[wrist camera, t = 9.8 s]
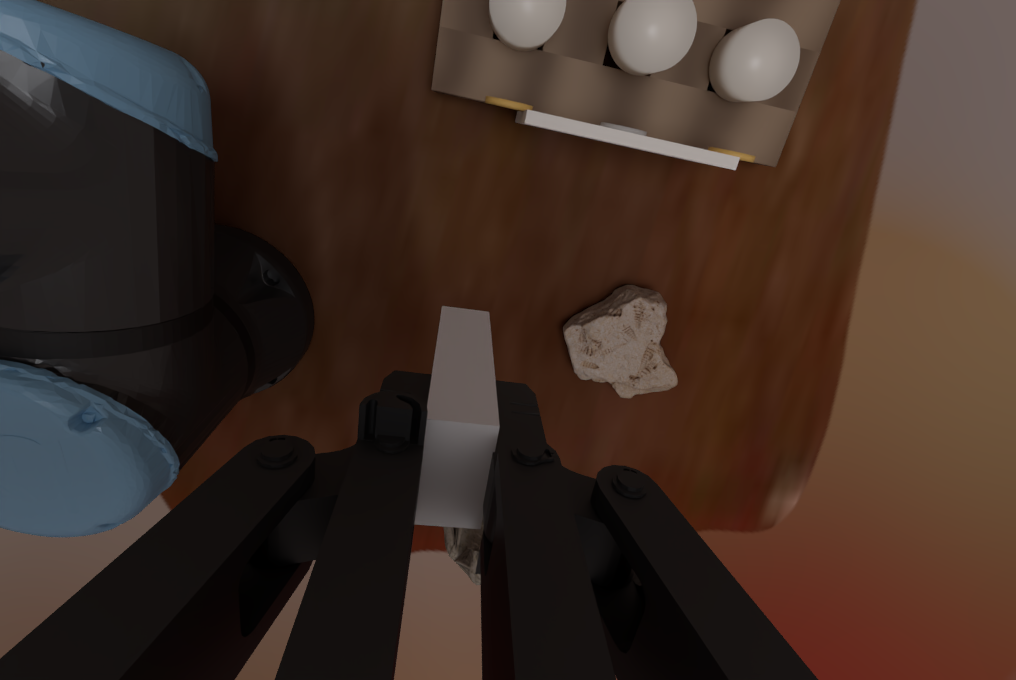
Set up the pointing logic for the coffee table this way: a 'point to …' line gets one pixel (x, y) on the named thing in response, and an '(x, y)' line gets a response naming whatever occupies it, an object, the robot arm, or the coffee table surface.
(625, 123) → the board
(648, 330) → the stone
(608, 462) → the coffee table surface
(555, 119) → the card
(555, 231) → the coffee table surface
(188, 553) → the robot arm
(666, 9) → the button
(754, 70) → the button
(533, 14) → the button
